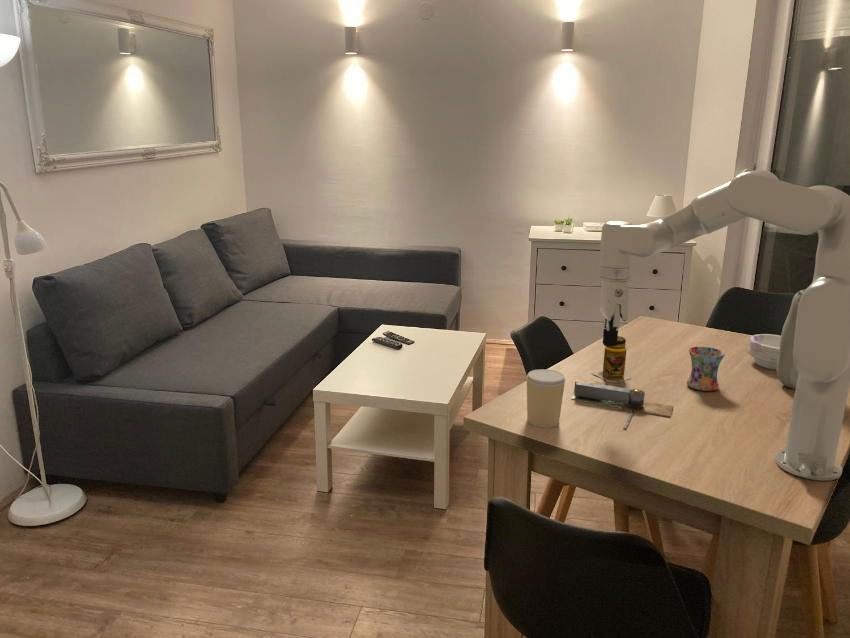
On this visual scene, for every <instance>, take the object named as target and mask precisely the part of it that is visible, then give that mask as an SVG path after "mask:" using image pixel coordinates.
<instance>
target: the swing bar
mask: <svg viewBox="0 0 850 638" xmlns="http://www.w3.org/2000/svg"><path fill="white" fill-rule="evenodd" d="M574 388H575V393H574V394H575V396H581V397H588V398H594V399H600V400H606V401H612V402H618V403H624V404H629V405H632V406H643V405H644V401H645V396H646V394H645V393H646V392H645V391H644V390H642V389H639V388H632V389H631V388H627V387H622V386H621V387H620V386H619V387H618V386H613V385H607V384H602V385H601V384H595V383H589V382H582V381H577V383H576V386H575V385H574Z"/></svg>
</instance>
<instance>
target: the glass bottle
mask: <svg viewBox="0 0 850 638" xmlns="http://www.w3.org/2000/svg"><path fill="white" fill-rule="evenodd" d="M806 289H807V288H805V289H801V290H799V291H797V292H796V293H795V294H794V296H793V298H792V301H791V305H790V307H789V311H788V314H787V316H786V319H785V322H784V324H783V326H782V331H781V335H780V336H781V340H780V348H779V355H778V362H777V370H776V375H777V378H778V380H779V381H780V383H781V384H782V385H784V386H785V387H786V388H789V389H790V388H791V389H795V390H796V384H797V379H798V374H799V372H798V371H797V369H796V368H795V365H794V362H793V347H794V338H795V330H796V321H797V312H798V306H799V302H800V299H801V296H802V294H803V293H804V291H805V290H806Z"/></svg>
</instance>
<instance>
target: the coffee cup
mask: <svg viewBox="0 0 850 638" xmlns="http://www.w3.org/2000/svg"><path fill="white" fill-rule="evenodd" d="M565 383H566V378H565V374H563V373H562V372H559V371H557V370H554V369H547V368H546V369H542V368H541V369H533V370H530V371H529V372H528V373H527V375H526V411H527V412H526V413H527V414H526V417H527V421H528V423H529V424H530V425H532V426H533V427H534V426H535V427H539V428H553V427H556V426H558V425H559V423H560V417H561V412H562V405H563V397H564V392H565V391H564V390H565Z"/></svg>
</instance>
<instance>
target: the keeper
mask: <svg viewBox="0 0 850 638" xmlns="http://www.w3.org/2000/svg"><path fill="white" fill-rule="evenodd" d="M577 381H582V382H589V383H595V384H601V385H603V382H601V381H595V380H589V379H583V378H576V379H575V381H574V388H573V389H574V391H573V393H574V394H573V395H572V396H571V397H570V399H571V400H573V401H580V402H585V403H591V404H596V405H603V406H607V407H608V406H609V407H613V408H619V409H621V407H622V405H623V403H618V402H612V401H606V400H600V399H594V398H588V397H581V396H575V386H576V383H577Z"/></svg>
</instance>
